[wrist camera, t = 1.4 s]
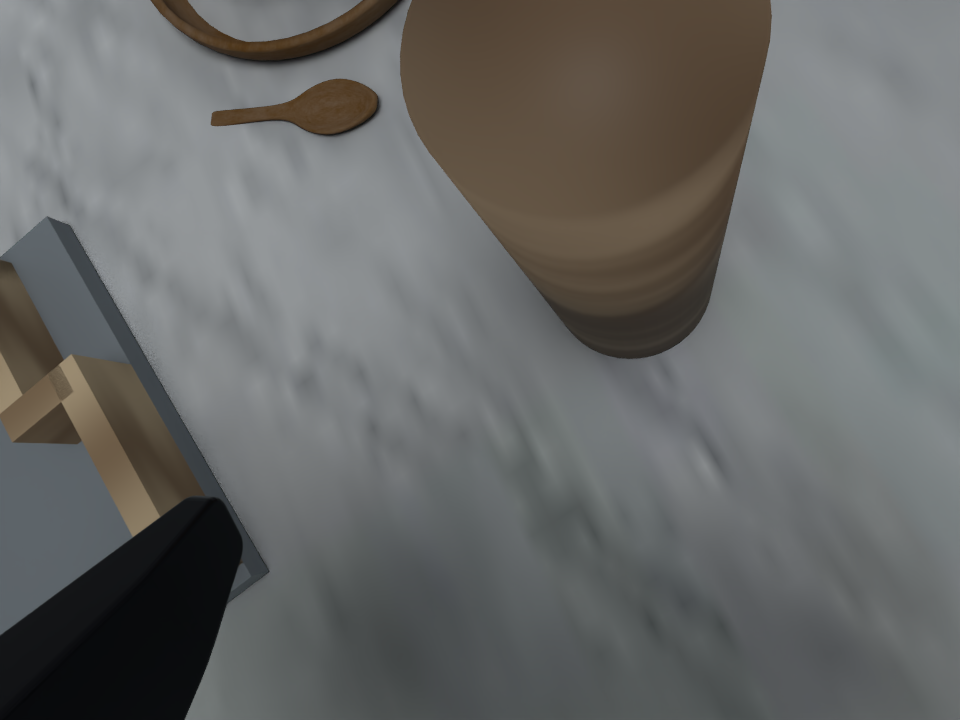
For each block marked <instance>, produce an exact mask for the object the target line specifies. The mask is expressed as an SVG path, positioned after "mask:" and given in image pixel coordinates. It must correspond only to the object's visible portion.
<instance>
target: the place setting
mask: <svg viewBox="0 0 960 720" xmlns="http://www.w3.org/2000/svg"><path fill="white" fill-rule="evenodd" d="M151 1H152V3H153V4H154V5H155V7H156V8H157V9H158V11H159V12H160V13H161V14H162V15H163V16H164V17H165V18H166V19H167V20H168V21H169V22H170V23H172V24H173V25H174V26H175V27H176V28H177V29H178V30H180V31H181V32H183V33H184V34H186V35H187V36H189V37H190V38H192V39H193V40H195V41H196V42H198V43H199V44H202V45H204V46H206V47H208V48H210V49H213V50H215V51H217V52H220V53H223V54H227V55H231V56H234V57H238V58H244V59H253V60H283V59H290V58H296V57H302V56H305V55H309V54H312V53H316V52H319V51H322V50H325V49H327V48H330V47H332V46H334V45H337V44H339V43H341V42H343V41H345V40H347V39H349V38H350V37H352V36H354V35H355V34H357V33H359V32H361V31H362V30H364V29H365V28H366V27H368V26H369V25H370V24H372V23H373V22H375V21H376V20H377V19H379V18H380V17H381V16H382V15H383V14H384V13H385V12H387V11H388V10H389V9H390V8H391V7H392V6H393V5H394V4H395V3H396V2H397V1H398V0H363V1H362V2H360V3H359V4H357V5H356V6H355V7H353V8H352V9H351V10H349V11H348V12H346V13H345V14H343V15H341V16H339V17H338V18H336V19H334V20H333V21H331V22H329V23H327V24H325V25H322V26H320V27H318V28H316V29H313V30H311V31H309V32H306V33H302V34H299V35H296V36H292V37H289V38H285V39H279V40H273V41H266V42H245V41H241V40H238V39H235V38H233V37H230V36H228V35H226V34H224V33H222V32H220V31H218V30H217V29H215V28H214V27H212V26H211V25H209V24H208V23H207V22H206V21H205V20H204V19H203V18H202V17H200V16H199V15H198V14H197V12H196V11H195V10H194V9H193V7H192V6H191V5H190V4H189V2H188V0H151ZM377 102H378V96H377V94H376V93H375V92H374V91H373V90H372V89H370V88H369V87H367V86H365V85H363V84H361V83H359V82H356V81H352V80H347V79H333V80H328V81H325V82H322V83H320V84H317V85H315V86H313V87H311V88H310V89H308V90H307V91H305V92H304V93H302V94H301V95H300V96H298V97H297V98H295V99H293V100H291V101H289V102H286V103H282V104H278V105H273V106H265V107H257V108H246V109H235V110H223V111H215V112H213V113H212V119H211V125H212V126H227V125H236V124H243V123H250V122H258V121H268V120H285V121H289V122H292V123H294V124H296V125H297V126H299V127H301V128H302V129H304V130H306V131H309V132H312V133H316V134H325V135H328V134H336V133H340V132H344V131H347V130H349V129H352V128H354V127H356V126H357V125H359V124H361V123H363V122H364V121H366V120H367V119H368V118H370V117H371V116H372V115H373V114H374V112H375V111H376V108H377Z"/></svg>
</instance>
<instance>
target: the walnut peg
mask: <svg viewBox="0 0 960 720" xmlns="http://www.w3.org/2000/svg"><path fill="white" fill-rule="evenodd" d="M771 18H772V15H771V3H770V0H412V2H411V5H410V7H409V10H408V13H407V17H406V21H405V25H404V29H403V35H402V43H401V51H400V75H401V82H402V89H403V96H404V99H405V102H406V106H407V109H408V113H409V116H410V118H411V120H412V123H413V125H414V127H415V129H416V132H417V134H418V136H419V137H420V139H421V140H422V142H423V143H424V145H425V147H426V148H427V150H428V151H429V153H430V154H431V155H432V157H433V158H434V159H435V160H436V162H437V163H438V164H439V165H440V167H441V168H442V169H443V171H444V172H445V173H446V174H447V176H448V177H449V178H450V179H451V181H452V182H453V183H454V184H455V186H456V187H457V188H458V190H459V191H460V192H461V193H462V195H463V196H464V197H465V198H466V200H467V201H468V202H469V204H470V205H471V206H472V207H473V209H474V210H475V211H476V212H477V214H478V215H479V216H480V217H481V219H482V220H483V221H484V223H485V224H486V225H487V226H488V228H489V229H490V230H491V231H492V233H493V234H494V235H495V236H496V238H497V239H498V240H499V242H500V243H501V244H502V245H503V247H504V248H505V249H506V250H507V252H508V253H509V254H510V256H511V257H512V258H513V259H514V261H515V262H516V263H517V264H518V266H519V267H520V268H521V269H522V271H523V272H524V273H525V275H526V276H527V277H528V278H529V280H530V281H531V282H532V283H533V285H534V286H535V287H536V288H537V290H538V291H539V292H540V294H541V295H542V296H543V297H544V299H545V300H546V301H547V302H548V304H549V305H550V306H551V308H552V309H553V310H554V311H555V313H556V314H557V315H558V316H559V318H560V319H561V320H562V321H563V323H564V324H565V325H566V327H567V328H568V329H569V330H570V331H571V333H572V334H573V335H574V336H575V337H576V338H577V339H579V340H580V341H581V342H582V343H583V344H585V345H586V346H588V347H589V348H591V349H593V350H595V351H597V352H599V353H602V354H605V355H608V356H612V357H617V358H627V359H633V358H643V357H649V356H653V355H656V354H659V353H662V352H664V351H666V350H668V349H670V348H672V347H673V346H675V345H677V344H678V343H680V342H681V341H682V340H683V339H684V338H686V337H687V336H688V335H689V334H690V333H691V332H692V331H693V330H694V328H695V327H696V326H697V324H698V323H699V322H700V320H701V318H702V317H703V315H704V313H705V311H706V308H707V306H708V303H709V300H710V296H711V291H712V287H713V283H714V279H715V274H716V270H717V266H718V262H719V257H720V253H721V249H722V245H723V240H724V236H725V232H726V228H727V223H728V219H729V215H730V211H731V206H732V202H733V198H734V194H735V189H736V185H737V181H738V177H739V172H740V168H741V164H742V160H743V155H744V151H745V147H746V143H747V138H748V134H749V130H750V126H751V121H752V117H753V113H754V109H755V104H756V100H757V96H758V92H759V87H760V83H761V79H762V75H763V70H764V66H765V61H766V57H767V52H768V47H769V43H770V33H771Z"/></svg>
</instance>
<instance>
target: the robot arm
mask: <svg viewBox="0 0 960 720" xmlns="http://www.w3.org/2000/svg"><path fill="white" fill-rule="evenodd" d="M242 552H243V539H242V535H241V533H240V531H239V529H238V527H237V525H236V523H235V522H234V520H233V518H232V516H231V514H230V512H229V510H228V508H227V506H226V504H225V503H224V501H223V500H222V499H220V498H219V497H213V496H190V497H188V498H186V499H184V500H183V501H181V502H180V503H178V504H177V505H176V506H174V507H173V508H172V509H170V510H169V511H168V512H166V513H165V514H164V515H162V516H161V517H159V518H158V519H157V520H155V521H154V522H153V523H151V524H150V525H149V526H147V527H146V528H145V529H143V530H142V531H141V532H139V533H138V534H136V535H135V536H134V537H132V538H131V539H130V540H128V541H127V542H126V543H124V544H123V545H122V546H120V547H119V548H117V549H116V550H115V551H113V552H112V553H111V554H109V555H108V556H107V557H105V558H104V559H103V560H101V561H100V562H99V563H97V564H96V565H94V566H93V567H92V568H90V569H89V570H88V571H86V572H85V573H84V574H82V575H81V576H80V577H78V578H77V579H75V580H74V581H73V582H71V583H70V584H69V585H67V586H66V587H65V588H63V589H62V590H61V591H59V592H58V593H56V594H55V595H54V596H52V597H51V598H50V599H48V600H47V601H46V602H44V603H43V604H42V605H40V606H39V607H38V608H36V609H35V610H33V611H32V612H31V613H29V614H28V615H27V616H25V617H24V618H23V619H21V620H20V621H19V622H17V623H16V624H14V625H13V626H12V627H10V628H9V629H8V630H6V631H5V632H4V633H2V634H1V635H0V720H185V717H186V715H187V713H188V710H189V708H190V706H191V703H192V701H193V699H194V696H195V694H196V691H197V689H198V687H199V684H200V682H201V679H202V677H203V674H204V672H205V669H206V667H207V664H208V662H209V659H210V656H211V653H212V650H213V647H214V644H215V641H216V638H217V634H218V631H219V628H220V625H221V621H222V618H223V615H224V612H225V608H226V605H227V602H228V599H229V596H230V592H231V589H232V586H233V583H234V579H235V576H236V573H237V570H238V567H239V563H240V560H241V557H242Z"/></svg>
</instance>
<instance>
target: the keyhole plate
mask: <svg viewBox="0 0 960 720" xmlns="http://www.w3.org/2000/svg"><path fill="white" fill-rule="evenodd" d="M190 496H213V497H219V498H220V499H222V500H223V501H224V503H225V504H226V506H227V508H228V510H229V512H230V514H231V516H232V518H233V520H234V522H235V523H236V525H237V527H238V529H239V531H240V533H241V535H242V539H243V552H242V557H241V560H240V563H239V567H238V570H237V573H236V576H235V579H234V583H233V586H232V589H231V592H230V596H229V599H228V602H229V601H231V600H232V599H233V598H235V597H236V596H237V595H239V594H240V593H241V592H243V591H244V590H245V589H247V588H248V587H249V586H251V585H252V584H253V583H254V582H256V581H257V580H258V579H260V578H261V577H262V576H264V575H265V574H266V573H268V572H269V571H268V569H267V568H266V566H265V564H264V563H263V561H262V559H261V557H260V556H259V554H258V552H257V550H256V549H255V547H254V545H253V543H252V542H251V540H250V538H249V536H248V535H247V533H246V531H245V530H244V528H243V526H242V524H241V523H240V521H239V519H238V517H237V516H236V514H235V512H234V510H233V509H232V507H231V505H230V503H229V502H228V500H227V498H226V497H225V495H224V493H223V491H222V490H221V488H220V486H219V484H218V483H217V481H216V479H215V477H214V476H213V474H212V472H211V470H210V469H209V467H208V465H207V464H206V462H205V460H204V458H203V457H202V455H201V453H200V451H199V450H198V448H197V446H196V444H195V443H194V441H193V439H192V437H191V436H190V434H189V432H188V430H187V429H186V427H185V425H184V424H183V422H182V420H181V418H180V417H179V415H178V413H177V411H176V410H175V408H174V406H173V404H172V403H171V401H170V399H169V397H168V396H167V394H166V392H165V391H164V389H163V387H162V385H161V384H160V382H159V380H158V378H157V377H156V375H155V373H154V371H153V370H152V368H151V366H150V364H149V363H148V361H147V359H146V358H145V356H144V354H143V352H142V351H141V349H140V347H139V345H138V344H137V342H136V340H135V338H134V337H133V335H132V333H131V331H130V330H129V328H128V326H127V325H126V323H125V321H124V319H123V318H122V316H121V314H120V312H119V311H118V309H117V307H116V305H115V304H114V302H113V300H112V298H111V297H110V295H109V293H108V291H107V290H106V288H105V286H104V285H103V283H102V281H101V279H100V278H99V276H98V274H97V272H96V271H95V269H94V267H93V265H92V264H91V262H90V260H89V258H88V257H87V255H86V253H85V252H84V250H83V248H82V246H81V245H80V243H79V241H78V239H77V238H76V236H75V234H74V232H73V231H72V229H71V227H70V225H68V224H65V223H63V222H60V221H57V220H55V219H52V218H50V217H46V218H45V219H43V220H42V221H41V222H40V223H39V224H38V225H37V226H35V227H34V228H33V229H32V230H31V231H30V232H29V233H27V234H26V235H25V236H24V237H23V238H22V239H20V240H19V241H18V242H17V243H16V244H15V245H14V246H12V247H11V248H10V249H9V250H8V251H7V252H6V253H4V254H3V255H2V256H1V257H0V635H1V634H2V633H4V632H5V631H6V630H8V629H9V628H10V627H12V626H13V625H14V624H16V623H17V622H19V621H20V620H21V619H23V618H24V617H25V616H27V615H28V614H29V613H31V612H32V611H33V610H35V609H36V608H38V607H39V606H40V605H42V604H43V603H44V602H46V601H47V600H48V599H50V598H51V597H52V596H54V595H55V594H56V593H58V592H59V591H61V590H62V589H63V588H65V587H66V586H67V585H69V584H70V583H71V582H73V581H74V580H75V579H77V578H78V577H80V576H81V575H82V574H84V573H85V572H86V571H88V570H89V569H90V568H92V567H93V566H94V565H96V564H97V563H99V562H100V561H101V560H103V559H104V558H105V557H107V556H108V555H109V554H111V553H112V552H113V551H115V550H116V549H117V548H119V547H120V546H122V545H123V544H124V543H126V542H127V541H128V540H130V539H131V538H132V537H134V536H135V535H136V534H138V533H139V532H141V531H142V530H143V529H145V528H146V527H147V526H149V525H150V524H151V523H153V522H154V521H155V520H157V519H158V518H159V517H161V516H162V515H164V514H165V513H166V512H168V511H169V510H170V509H172V508H173V507H174V506H176V505H177V504H178V503H180V502H181V501H183V500H184V499H186V498H188V497H190ZM228 602H227V603H228Z"/></svg>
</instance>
